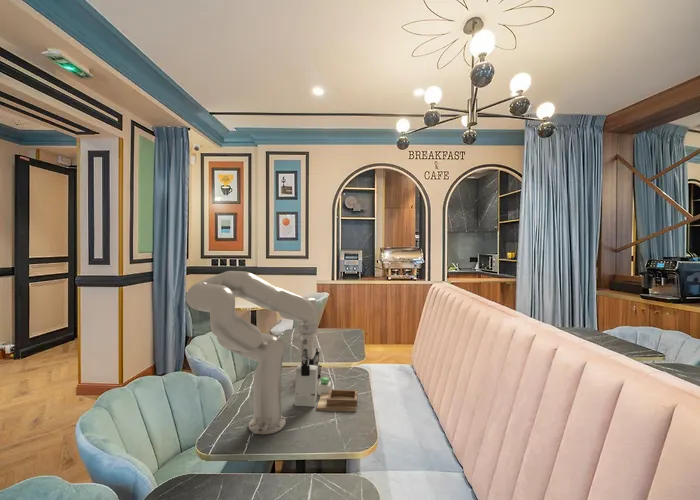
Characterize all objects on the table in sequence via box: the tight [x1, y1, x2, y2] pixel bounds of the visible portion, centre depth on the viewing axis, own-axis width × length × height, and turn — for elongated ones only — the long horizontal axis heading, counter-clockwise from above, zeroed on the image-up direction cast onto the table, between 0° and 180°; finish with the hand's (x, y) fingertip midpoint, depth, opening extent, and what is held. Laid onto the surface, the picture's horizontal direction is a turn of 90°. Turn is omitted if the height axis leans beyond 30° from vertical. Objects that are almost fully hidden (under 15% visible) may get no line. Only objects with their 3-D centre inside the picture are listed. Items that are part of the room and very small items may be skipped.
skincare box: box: [294, 363, 319, 408], centre depth 140 cm, size 8×6×15 cm
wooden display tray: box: [316, 388, 359, 412], centre depth 140 cm, size 13×15×4 cm
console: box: [317, 380, 332, 396], centre depth 150 cm, size 5×5×4 cm
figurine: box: [314, 347, 322, 378], centre depth 167 cm, size 9×12×15 cm
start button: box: [320, 376, 330, 384], centre depth 150 cm, size 4×4×5 cm
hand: (307, 370), depth 140 cm, fingers open, 9 cm apart
